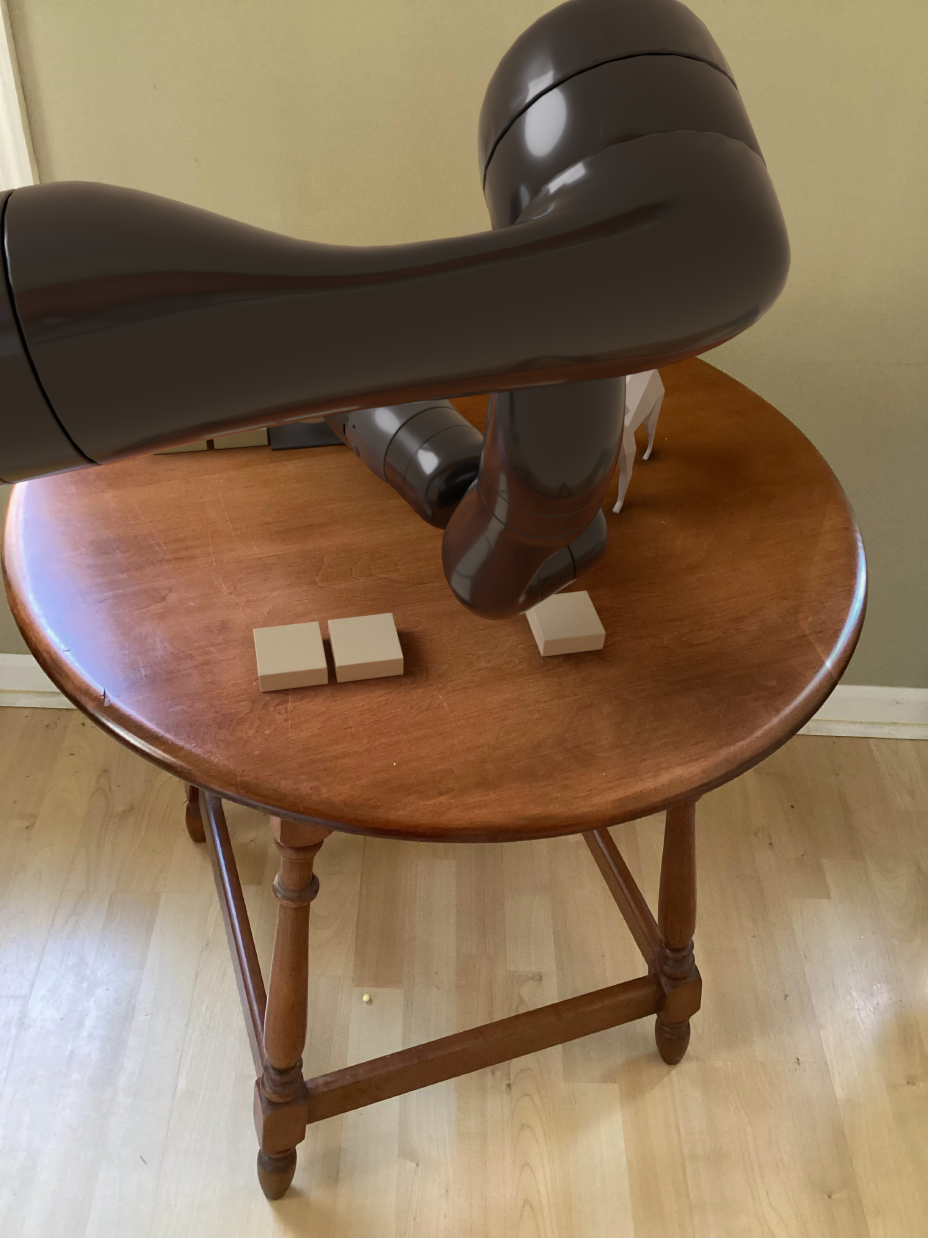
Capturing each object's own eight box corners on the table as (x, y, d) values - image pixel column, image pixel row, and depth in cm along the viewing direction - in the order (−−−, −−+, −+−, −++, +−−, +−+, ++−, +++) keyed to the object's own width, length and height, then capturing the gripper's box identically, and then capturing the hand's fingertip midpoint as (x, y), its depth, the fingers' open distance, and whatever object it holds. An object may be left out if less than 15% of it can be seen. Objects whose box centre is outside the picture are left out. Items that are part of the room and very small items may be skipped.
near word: (260, 692, 68) (258, 675, 67) (255, 645, 71) (253, 628, 70) (602, 649, 72) (606, 632, 71) (583, 606, 75) (586, 590, 74)
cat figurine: (552, 529, 82) (574, 369, 72) (624, 405, 95) (651, 257, 85) (606, 545, 80) (637, 385, 71) (671, 417, 94) (704, 269, 84)
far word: (152, 459, 85) (149, 443, 84) (152, 419, 90) (149, 403, 89) (410, 438, 90) (410, 422, 88) (398, 401, 94) (398, 385, 93)
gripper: (480, 350, 76) (367, 259, 86) (302, 400, 70) (203, 296, 80) (475, 438, 81) (369, 342, 91) (308, 491, 75) (215, 383, 85)
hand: (292, 321), depth 86 cm, fingers closed on beverage can, 5 cm apart
